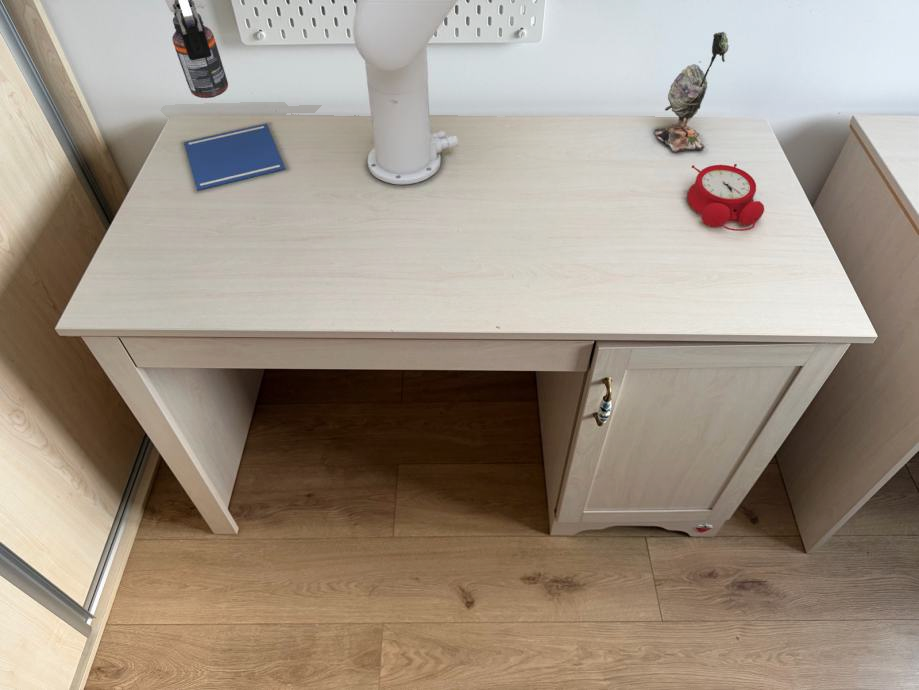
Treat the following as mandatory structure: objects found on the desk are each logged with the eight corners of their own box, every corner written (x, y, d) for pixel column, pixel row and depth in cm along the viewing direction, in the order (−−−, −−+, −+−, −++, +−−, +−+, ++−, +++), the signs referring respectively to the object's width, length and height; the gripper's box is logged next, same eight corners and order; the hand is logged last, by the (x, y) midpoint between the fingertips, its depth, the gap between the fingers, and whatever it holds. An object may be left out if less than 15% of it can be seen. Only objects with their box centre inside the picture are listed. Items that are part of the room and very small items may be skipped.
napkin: (266, 124, 125) (266, 123, 125) (285, 169, 116) (285, 167, 116) (184, 143, 122) (183, 141, 121) (197, 190, 113) (196, 189, 113)
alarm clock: (745, 159, 111) (784, 198, 99) (736, 194, 115) (773, 236, 103) (682, 161, 111) (714, 201, 99) (676, 196, 115) (706, 239, 103)
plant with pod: (692, 119, 125) (724, 9, 110) (706, 155, 118) (742, 43, 103) (649, 119, 125) (674, 10, 110) (660, 155, 118) (689, 43, 103)
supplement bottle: (199, 79, 108) (175, 6, 100) (234, 81, 108) (213, 8, 99) (184, 98, 104) (158, 25, 96) (221, 101, 104) (198, 27, 95)
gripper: (193, -71, 83) (233, 69, 97) (173, -114, 93) (211, 18, 107) (130, -61, 81) (180, 80, 95) (116, -106, 91) (163, 27, 105)
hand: (196, 46), depth 101 cm, fingers closed on supplement bottle, 5 cm apart
